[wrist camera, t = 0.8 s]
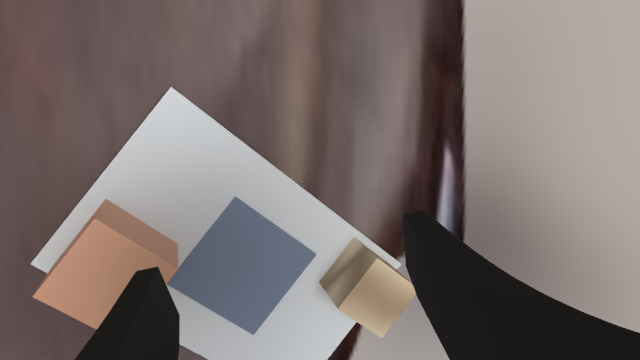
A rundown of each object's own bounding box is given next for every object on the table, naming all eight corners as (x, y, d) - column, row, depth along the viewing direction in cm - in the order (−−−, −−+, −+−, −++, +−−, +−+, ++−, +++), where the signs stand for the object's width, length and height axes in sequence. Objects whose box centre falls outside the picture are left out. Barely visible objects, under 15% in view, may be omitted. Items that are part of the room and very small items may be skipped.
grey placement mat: (290, 400, 34) (292, 405, 34) (32, 260, 27) (29, 264, 26) (398, 261, 34) (401, 264, 34) (170, 86, 27) (170, 86, 27)
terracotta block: (127, 307, 29) (120, 341, 25) (52, 266, 27) (32, 296, 23) (177, 243, 29) (178, 268, 25) (105, 198, 27) (94, 218, 23)
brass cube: (358, 309, 34) (381, 338, 30) (318, 282, 32) (337, 308, 29) (392, 266, 34) (419, 289, 30) (353, 236, 32) (377, 257, 29)
